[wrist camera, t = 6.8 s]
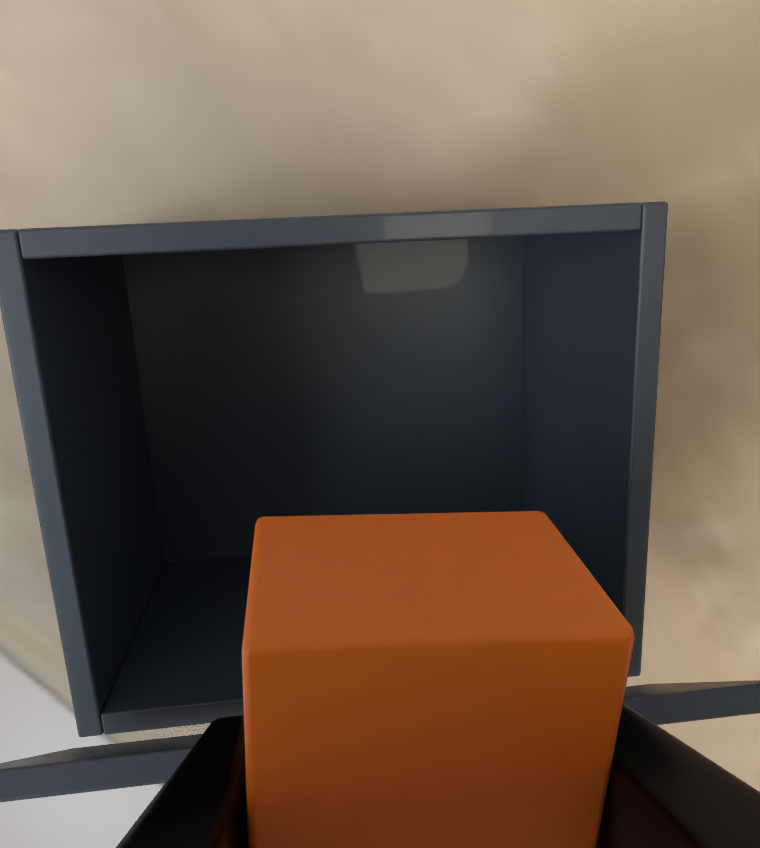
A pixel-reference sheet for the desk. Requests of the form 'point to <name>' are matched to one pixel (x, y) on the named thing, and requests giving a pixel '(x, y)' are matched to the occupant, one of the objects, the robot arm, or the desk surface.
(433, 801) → the block
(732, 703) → the panel
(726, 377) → the desk surface
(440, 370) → the box
